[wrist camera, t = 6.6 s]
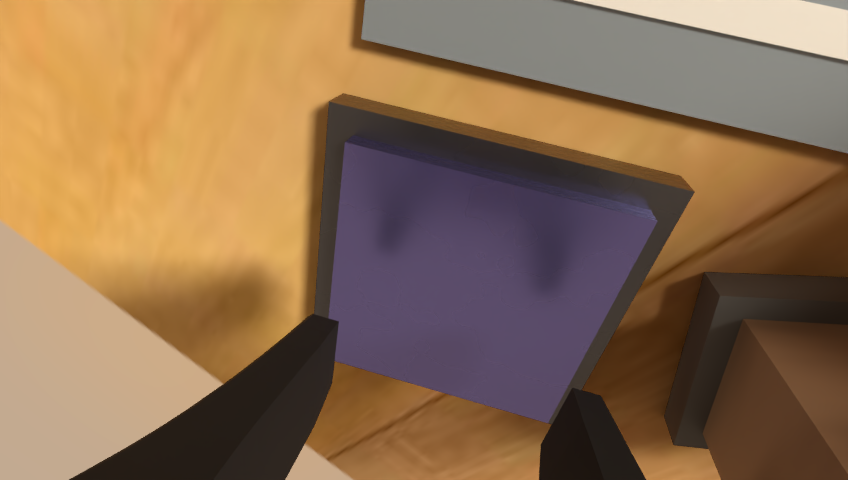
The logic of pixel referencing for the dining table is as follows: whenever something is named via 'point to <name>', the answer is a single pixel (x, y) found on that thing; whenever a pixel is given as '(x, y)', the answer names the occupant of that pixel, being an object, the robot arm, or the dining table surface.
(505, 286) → the ink pad
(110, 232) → the dining table surface
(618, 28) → the marked board
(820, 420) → the stamp
